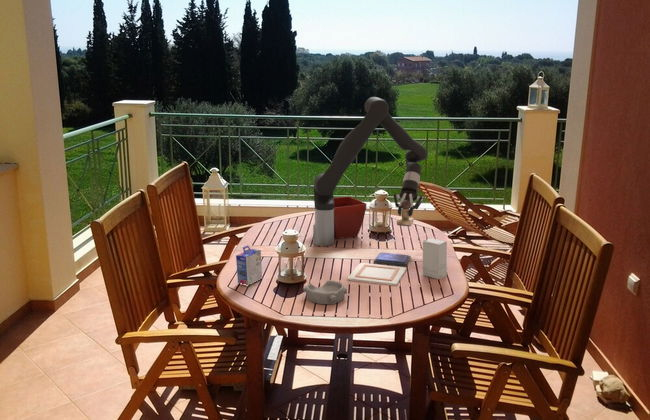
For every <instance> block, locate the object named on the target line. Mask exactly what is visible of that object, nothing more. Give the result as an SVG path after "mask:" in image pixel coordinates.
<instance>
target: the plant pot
mask: <svg viewBox="0 0 650 420" xmlns="http://www.w3.org/2000/svg"><path fill="white" fill-rule="evenodd" d="M366 209H367V203H365V202H363V201H362V200H359V199H357V198H354V197H352V196H342V197H341V196H339V197H334V240H337V239H345V238H352V237H358V236H359V234H360V230H361V228H362V226H363V221H364V219H365V215H366V211H367V210H366Z"/></svg>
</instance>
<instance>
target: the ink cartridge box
mask: <svg viewBox="0 0 650 420" xmlns="http://www.w3.org/2000/svg"><path fill="white" fill-rule="evenodd" d="M242 250H243V252H240V253H239V254H237V255H235V258H236V260H235V261H236V274H237V284H238V283H242V284H246V285H249V284H251V283H253V282H255V281H257V280H259V279H261V278H262V279H263V272H262V271H263V270H262V269H263V267H262V250H261V249H254V248H250V246H249V245H246V246H245V245H244V246H243V247H242Z"/></svg>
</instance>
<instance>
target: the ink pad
mask: <svg viewBox="0 0 650 420" xmlns="http://www.w3.org/2000/svg"><path fill="white" fill-rule="evenodd" d="M411 257H412V256H411V255H408V254H399V253H390V252H379V253H378V254H377V255H376V257H375V258H374V259H373V264H377V265H387V266H396V267H406V268H407V266H408V264H409V262H410V261H411Z"/></svg>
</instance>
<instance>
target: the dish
mask: <svg viewBox="0 0 650 420" xmlns="http://www.w3.org/2000/svg"><path fill="white" fill-rule="evenodd" d="M303 292H304V293H305V294H306V298H307V300H308V301H310V302H312V303H314V304H319V305H321V304H322V305H333V304H338V303H340V302H342V301H344V298H345V295H346V294H347V293H348V289H347V287H345V286H344V284H343V283H342V282H339V281H336V280H326V282H324V284H323V285H322V286H319V287H316V286H315V285H313V283H308V284H307V285H304V286H303Z"/></svg>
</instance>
